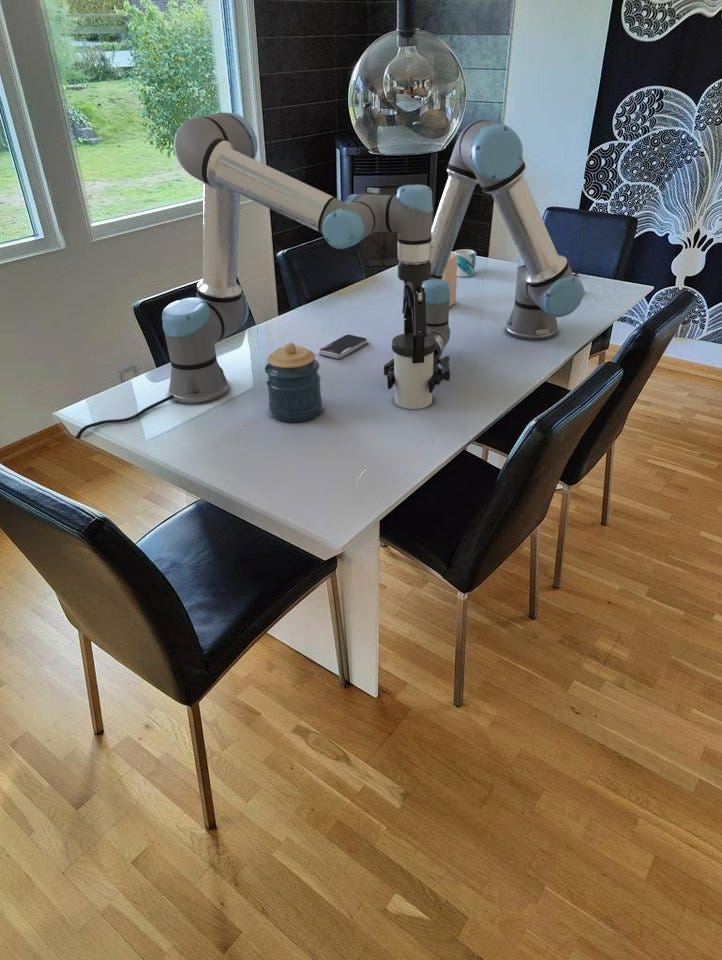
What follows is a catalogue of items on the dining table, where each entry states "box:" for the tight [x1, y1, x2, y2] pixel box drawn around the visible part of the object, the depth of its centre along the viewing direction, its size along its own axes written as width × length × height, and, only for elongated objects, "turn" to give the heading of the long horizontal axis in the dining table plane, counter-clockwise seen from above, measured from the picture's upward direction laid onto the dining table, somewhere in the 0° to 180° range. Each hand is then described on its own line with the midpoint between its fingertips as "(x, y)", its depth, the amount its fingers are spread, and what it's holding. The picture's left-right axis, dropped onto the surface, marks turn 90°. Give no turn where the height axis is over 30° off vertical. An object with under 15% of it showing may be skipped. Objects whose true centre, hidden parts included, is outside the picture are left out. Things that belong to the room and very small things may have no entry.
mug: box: [453, 248, 477, 278], centre depth 259 cm, size 8×12×8 cm
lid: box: [391, 333, 436, 357], centre depth 161 cm, size 10×11×2 cm
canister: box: [264, 342, 323, 423], centre depth 161 cm, size 13×13×18 cm
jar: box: [393, 351, 434, 410], centre depth 165 cm, size 10×10×15 cm
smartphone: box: [318, 334, 368, 360], centre depth 199 cm, size 8×1×15 cm
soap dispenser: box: [442, 253, 458, 308], centre depth 225 cm, size 13×9×22 cm
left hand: (413, 353), depth 162 cm, fingers closed on lid, 10 cm apart
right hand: (409, 385), depth 162 cm, fingers closed on jar, 9 cm apart
